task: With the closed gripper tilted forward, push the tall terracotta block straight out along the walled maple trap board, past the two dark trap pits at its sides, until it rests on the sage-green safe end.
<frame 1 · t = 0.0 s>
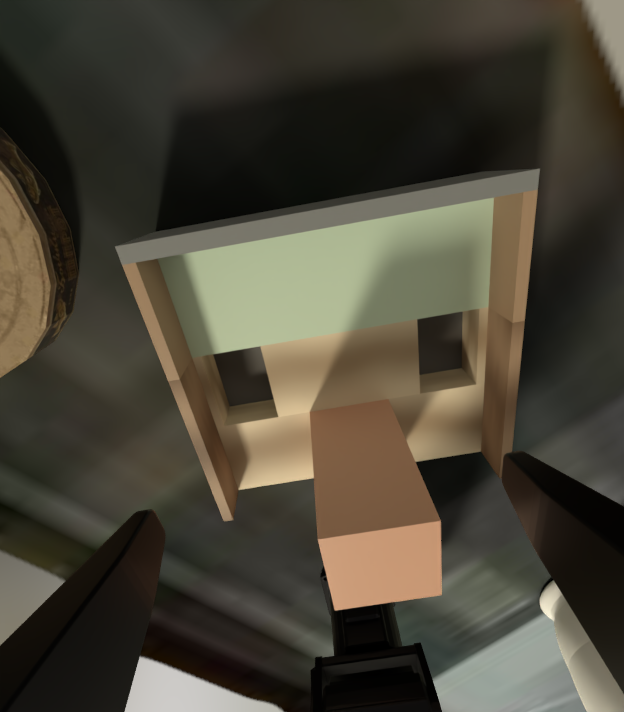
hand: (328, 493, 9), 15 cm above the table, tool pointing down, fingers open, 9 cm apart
jar: (577, 588, 37), on the table
safe end: (326, 270, 21), on the table
trap board: (339, 353, 24), on the table
terracotta block: (353, 436, 24), point 2 cm above the table, touching trap board
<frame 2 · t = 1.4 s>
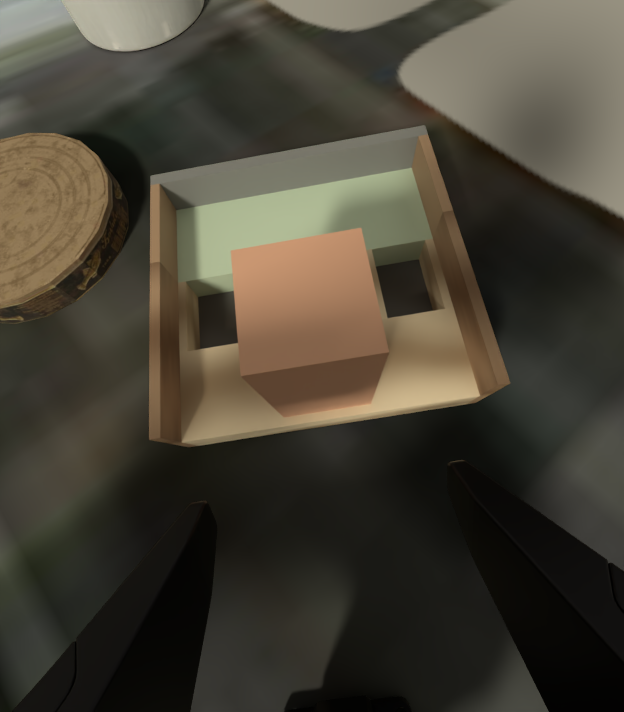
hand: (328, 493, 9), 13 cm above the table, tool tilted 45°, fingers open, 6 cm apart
safe end: (302, 245, 27), on the table
brown flat round piece: (40, 238, 30), on the table
trap board: (312, 311, 25), on the table
utensil holder: (146, 11, 38), on the table
terracotta block: (320, 369, 21), point 2 cm above the table, touching trap board
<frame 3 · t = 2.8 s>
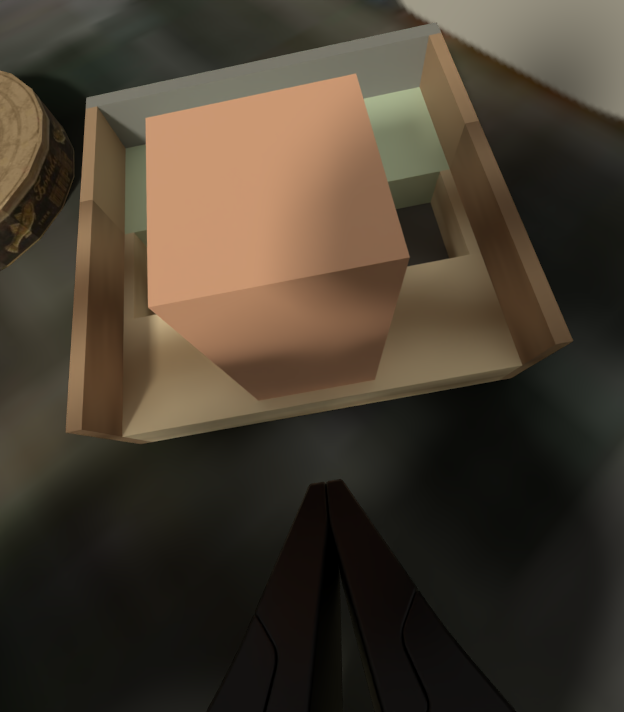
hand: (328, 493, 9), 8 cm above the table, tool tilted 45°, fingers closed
safe end: (284, 192, 22), on the table
trap board: (297, 270, 20), on the table
terracotta block: (307, 336, 16), point 2 cm above the table, touching trap board
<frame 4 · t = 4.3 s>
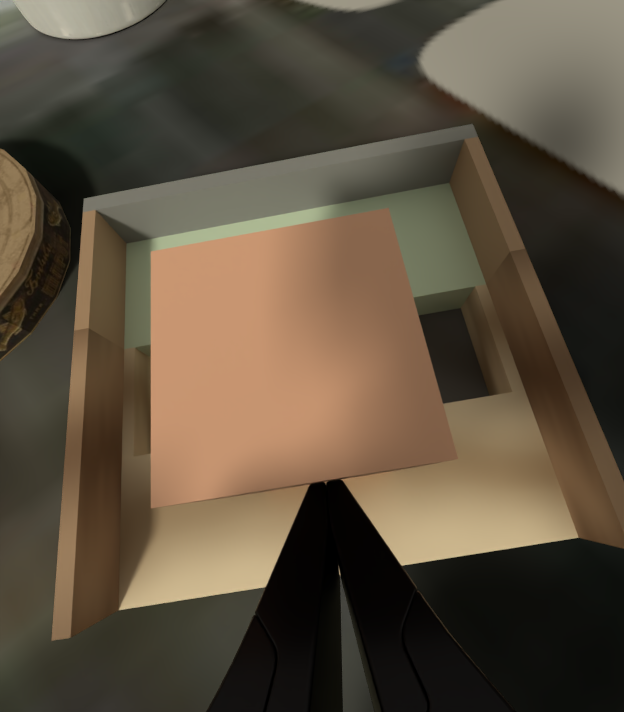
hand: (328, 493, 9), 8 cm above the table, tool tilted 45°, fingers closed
safe end: (299, 288, 20), on the table
trap board: (315, 382, 18), on the table
terracotta block: (317, 419, 15), point 2 cm above the table, touching trap board
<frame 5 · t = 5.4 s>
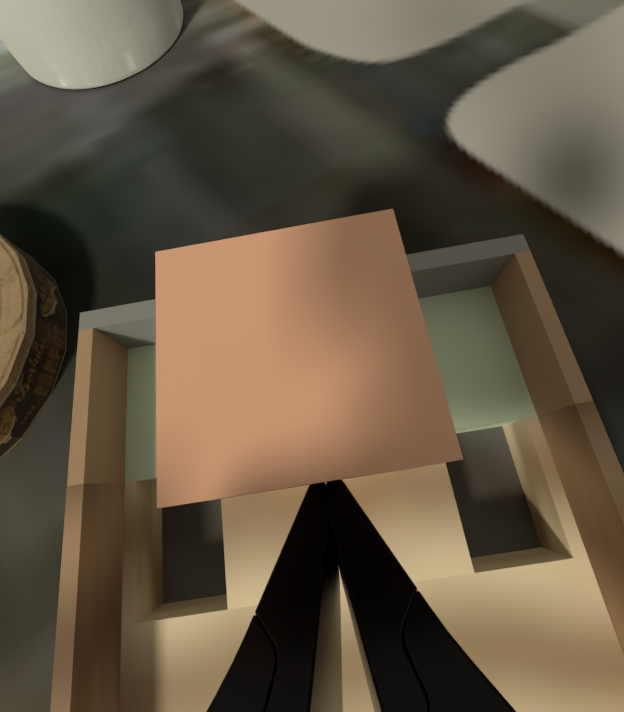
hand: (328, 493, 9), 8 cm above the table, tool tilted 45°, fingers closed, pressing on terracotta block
safe end: (319, 393, 18), on the table
trap board: (338, 511, 16), on the table
utensil holder: (107, 34, 29), on the table
terracotta block: (320, 419, 15), point 3 cm above the table, touching gripper
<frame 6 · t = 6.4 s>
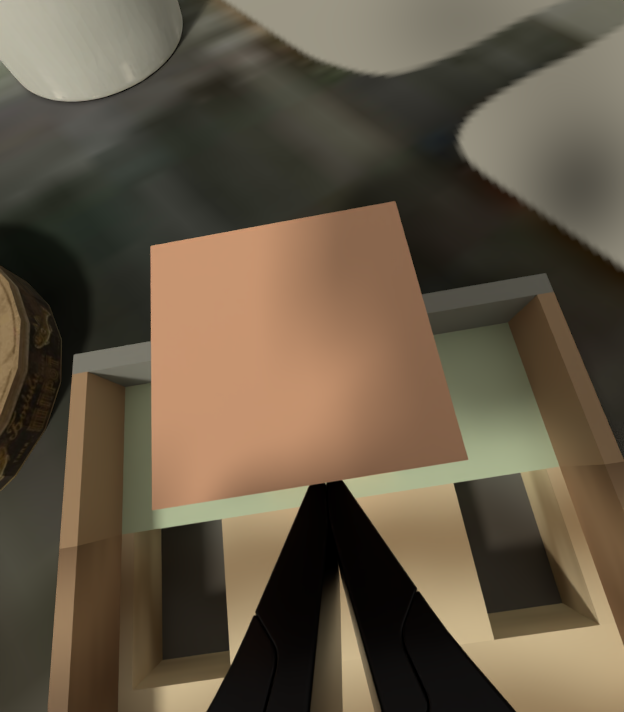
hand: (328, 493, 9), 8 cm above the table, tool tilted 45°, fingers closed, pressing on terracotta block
safe end: (326, 430, 17), on the table
trap board: (347, 559, 15), on the table
utensil holder: (104, 43, 28), on the table
terracotta block: (320, 417, 15), point 2 cm above the table, touching gripper, safe end
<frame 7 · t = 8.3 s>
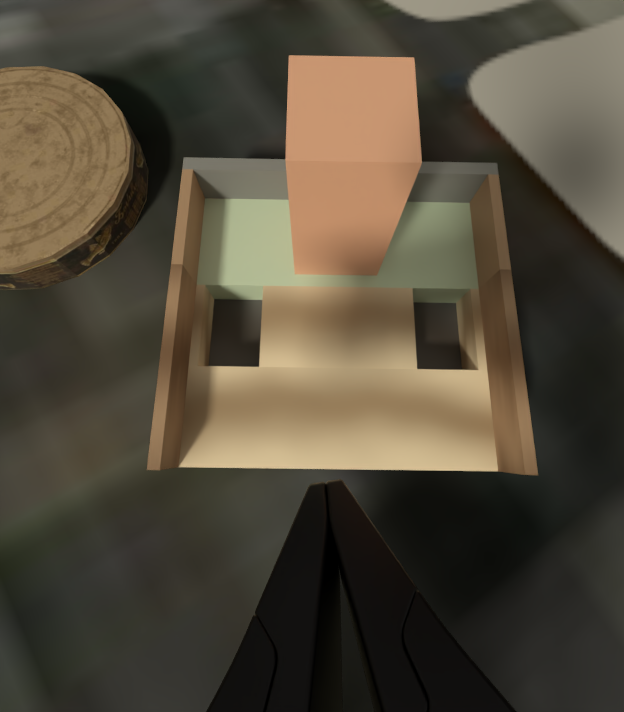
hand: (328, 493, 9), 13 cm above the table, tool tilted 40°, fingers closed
safe end: (334, 262, 25), on the table
brown flat round piece: (43, 193, 27), on the table
trap board: (335, 338, 24), on the table
terracotta block: (335, 238, 23), point 2 cm above the table, touching safe end
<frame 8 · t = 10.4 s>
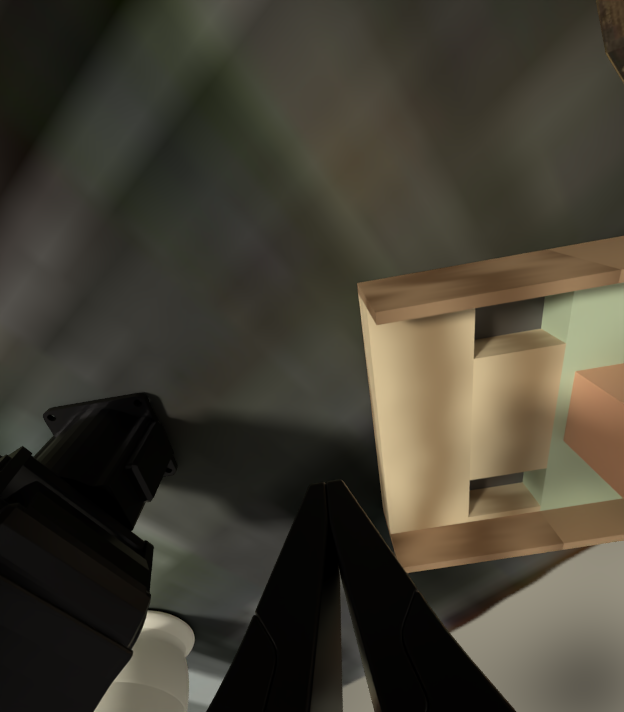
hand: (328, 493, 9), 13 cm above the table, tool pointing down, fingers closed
jar: (150, 631, 34), on the table
safe end: (576, 382, 24), on the table
trap board: (492, 396, 24), on the table
terracotta block: (611, 400, 21), point 2 cm above the table, touching safe end
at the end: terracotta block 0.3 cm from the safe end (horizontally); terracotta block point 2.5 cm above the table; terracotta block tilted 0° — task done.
